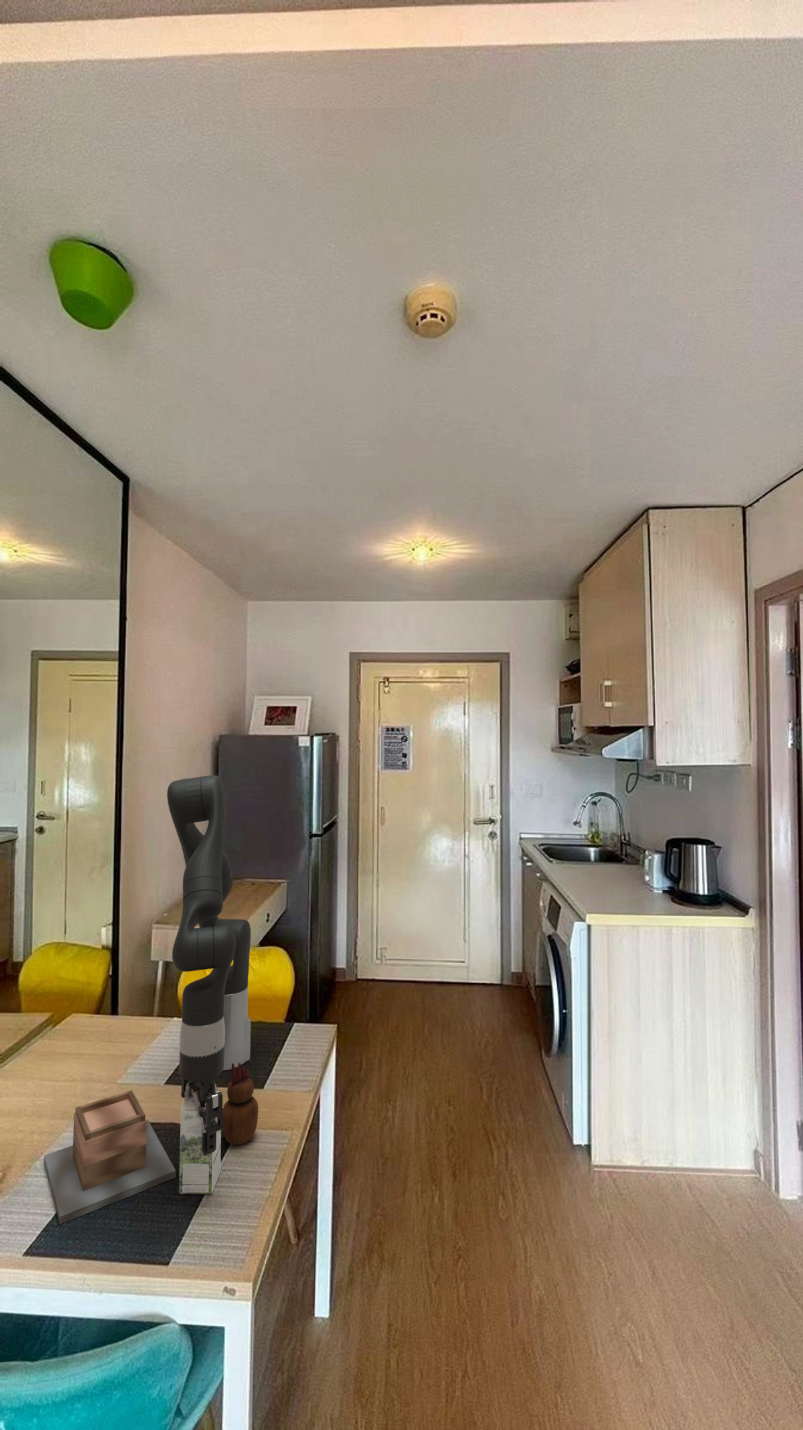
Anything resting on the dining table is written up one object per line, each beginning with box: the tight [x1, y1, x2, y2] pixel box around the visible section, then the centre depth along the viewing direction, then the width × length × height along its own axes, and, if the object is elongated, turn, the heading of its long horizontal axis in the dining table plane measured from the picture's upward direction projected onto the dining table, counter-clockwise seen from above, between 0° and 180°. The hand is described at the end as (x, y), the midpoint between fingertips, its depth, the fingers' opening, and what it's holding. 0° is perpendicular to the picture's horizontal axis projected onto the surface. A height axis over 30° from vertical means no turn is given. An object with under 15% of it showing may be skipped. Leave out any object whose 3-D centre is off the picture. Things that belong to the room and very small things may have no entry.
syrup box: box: [178, 1090, 222, 1195], centre depth 108 cm, size 6×6×14 cm
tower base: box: [43, 1089, 177, 1225], centre depth 112 cm, size 18×18×10 cm
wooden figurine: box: [222, 1063, 259, 1146], centre depth 120 cm, size 7×6×15 cm
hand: (200, 1139), depth 108 cm, fingers open, 8 cm apart
